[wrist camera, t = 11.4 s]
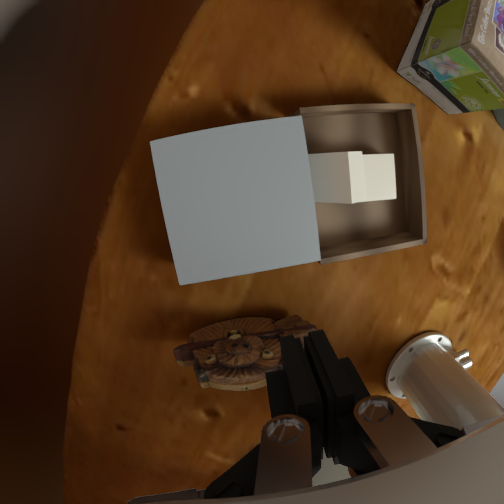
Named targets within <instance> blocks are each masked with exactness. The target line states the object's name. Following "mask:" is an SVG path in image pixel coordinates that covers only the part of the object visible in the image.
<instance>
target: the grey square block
mask: <svg viewBox="0 0 504 504" xmlns="http://www.w3.org/2000/svg"><path fill="white" fill-rule="evenodd" d="M150 146H151V152H152V157H153V163H154V169H155V174H156V180H157V185H158V190H159V195H160V200H161V205H162V210H163V215H164V220H165V224H166V229H167V233H168V238H169V242H170V247H171V251H172V255H173V260H174V264H175V268H176V272H177V276H178V280H179V284H180V285H185V284H191V283H197V282H203V281H209V280H215V279H221V278H226V277H232V276H238V275H244V274H249V273H255V272H261V271H266V270H272V269H277V268H283V267H288V266H294V265H299V264H305V263H310V262H315V261H321V255H320V245H319V236H318V227H317V218H316V210H315V202H314V194H313V186H312V179H311V172H310V165H309V158H308V151H307V145H306V139H305V132H304V126H303V120H302V116H293V117H284V118H276V119H268V120H260V121H253V122H246V123H240V124H233V125H227V126H221V127H216V128H210V129H205V130H200V131H195V132H190V133H185V134H180V135H175V136H171V137H166V138H162V139H158V140H154V141H150Z"/></svg>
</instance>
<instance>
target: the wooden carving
mask: <svg viewBox="0 0 504 504" xmlns="http://www.w3.org/2000/svg"><path fill="white" fill-rule="evenodd" d="M311 331H316V326H315V325H311V324H310V323H309V322H308V321H303V320H302V319H301V317H300V316H298V315H294V316H288V317H286V318H283V319H281V320H278V321H276V322H275V321H274V320H273V319H271V318H264V317H248V318H247V317H244V318H238V319H231V320H227V321H222V322H217V323H215V324H211V325H209V326H206V327H204V328H201V329H199V330H197V331H194V332H193V333H191V334H190V335H189V336H188V338H189V341H190V343H187V344H183V345H180V346H178V347H176V348H175V349H174V355H175V357H176V363H177V364H178V365H180V366H183V367H189V366H193V368H194V371H195V373H196V377H197V380H198V383H199V385H200V386H201V388H208V387H212V388H216V389H220V390H233V391H247V390H251V389H257V388H261V387H264V386H266V385H267V383H266V376H265V372H271V371H277V370H283V365H282V356H281V348H280V339H279V337H282V336H288V335H294V337H295V338H298V337H300V339H301V342H302V345H303V348H304V339H303V338H304V336H308V332H311Z"/></svg>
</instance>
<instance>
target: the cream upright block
mask: <svg viewBox="0 0 504 504" xmlns="http://www.w3.org/2000/svg"><path fill="white" fill-rule="evenodd" d="M308 158H309V165H310V172H311V179H312V186H313V194H314V202H324V203H346V204H353V203H356V202H359V201H362V200H365V199H366V198H365V182H364V168H363V156H362V151H352V152H333V153H319V154H308Z"/></svg>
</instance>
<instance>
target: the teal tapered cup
mask: <svg viewBox="0 0 504 504" xmlns="http://www.w3.org/2000/svg"><path fill="white" fill-rule="evenodd" d="M493 112H494V115H495V117H496V120H497V122H498V123H499V125H500V126H501V128H502V129H503V130H504V109H494V110H493Z"/></svg>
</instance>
